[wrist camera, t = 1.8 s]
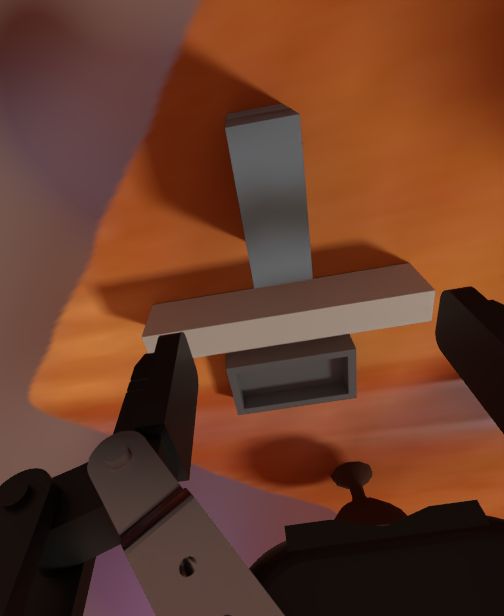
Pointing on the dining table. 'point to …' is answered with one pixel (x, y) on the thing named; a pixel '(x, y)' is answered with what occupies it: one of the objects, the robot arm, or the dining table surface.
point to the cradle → (292, 374)
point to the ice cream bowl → (363, 498)
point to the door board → (295, 311)
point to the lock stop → (271, 192)
